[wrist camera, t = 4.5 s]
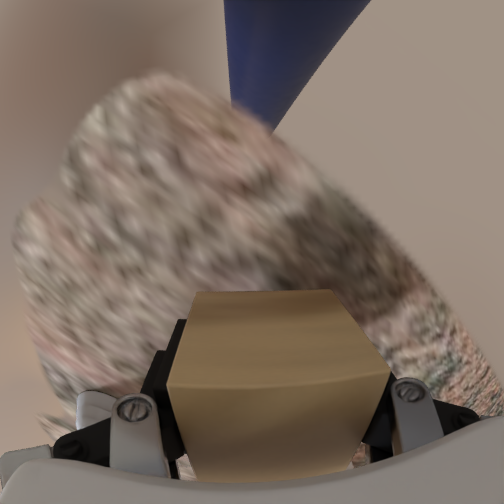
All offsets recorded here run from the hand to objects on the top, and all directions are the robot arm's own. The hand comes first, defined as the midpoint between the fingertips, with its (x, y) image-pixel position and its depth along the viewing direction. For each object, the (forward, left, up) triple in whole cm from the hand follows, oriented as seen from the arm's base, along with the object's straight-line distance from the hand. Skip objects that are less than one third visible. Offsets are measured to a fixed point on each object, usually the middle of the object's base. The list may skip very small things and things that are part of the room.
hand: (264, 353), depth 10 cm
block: (0, 0, 0) cm, 0 cm away
